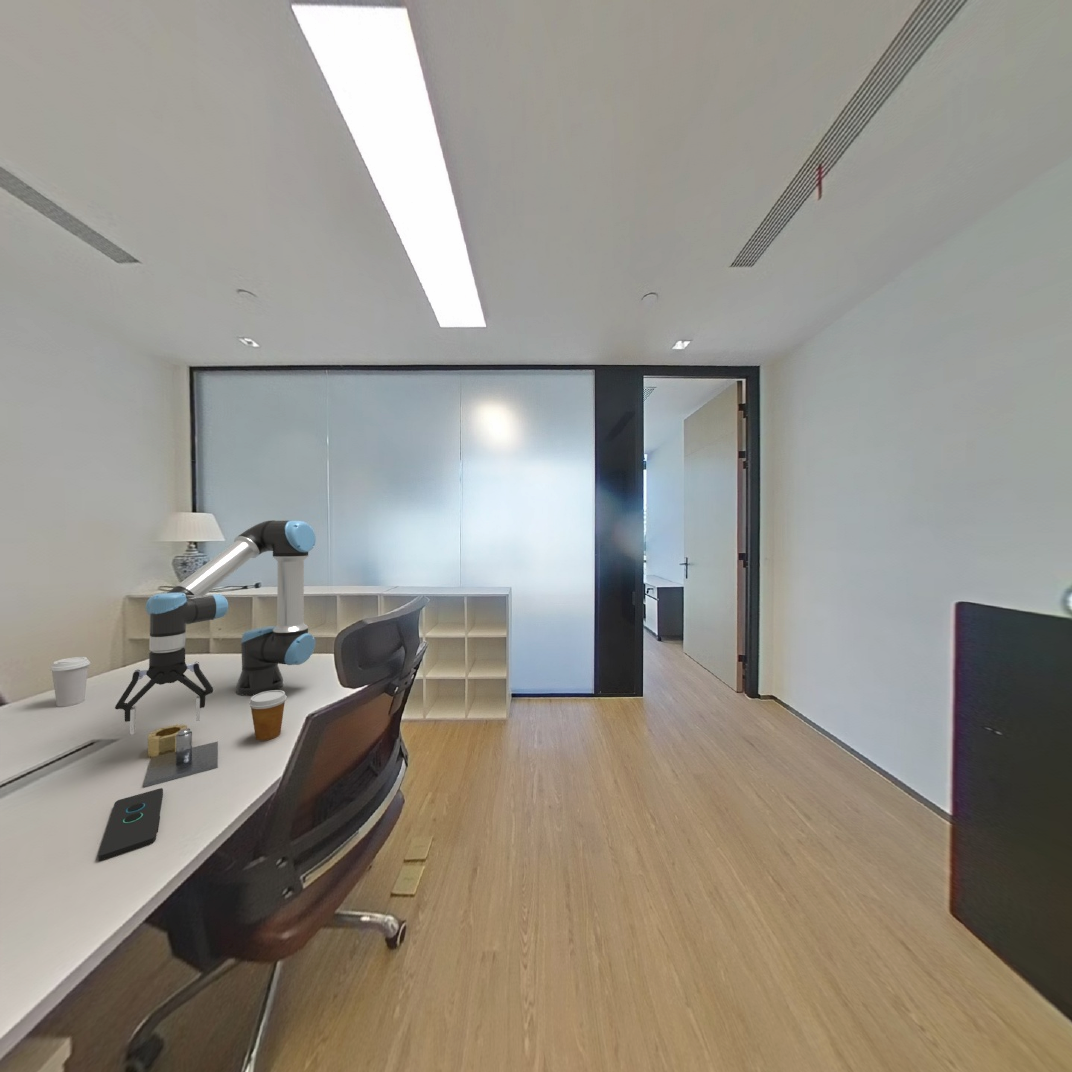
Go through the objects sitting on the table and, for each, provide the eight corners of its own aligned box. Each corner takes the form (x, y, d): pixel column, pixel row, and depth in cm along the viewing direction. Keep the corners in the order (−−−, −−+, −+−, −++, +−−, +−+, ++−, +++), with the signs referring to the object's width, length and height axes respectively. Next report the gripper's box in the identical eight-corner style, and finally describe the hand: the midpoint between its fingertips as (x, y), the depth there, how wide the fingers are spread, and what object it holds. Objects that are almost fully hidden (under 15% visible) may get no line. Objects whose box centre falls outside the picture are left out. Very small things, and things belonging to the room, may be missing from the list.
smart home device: (164, 786, 98) (156, 836, 83) (164, 793, 98) (156, 844, 83) (114, 800, 93) (95, 856, 77) (114, 807, 93) (95, 865, 77)
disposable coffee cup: (294, 731, 128) (294, 692, 128) (264, 746, 119) (264, 704, 119) (271, 725, 131) (271, 687, 131) (241, 740, 122) (240, 699, 122)
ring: (187, 739, 122) (187, 722, 122) (186, 751, 116) (185, 733, 116) (150, 747, 117) (150, 730, 117) (146, 760, 111) (146, 741, 111)
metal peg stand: (217, 744, 119) (217, 714, 119) (217, 767, 108) (217, 733, 108) (151, 760, 111) (151, 728, 111) (143, 787, 100) (143, 750, 100)
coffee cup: (44, 705, 144) (43, 662, 143) (82, 695, 153) (82, 654, 152) (58, 710, 140) (57, 666, 140) (96, 700, 149) (96, 658, 149)
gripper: (223, 640, 127) (222, 710, 127) (106, 653, 112) (105, 732, 112) (223, 645, 121) (222, 719, 121) (100, 660, 106) (99, 744, 106)
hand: (166, 725), depth 116 cm, fingers open, 13 cm apart
